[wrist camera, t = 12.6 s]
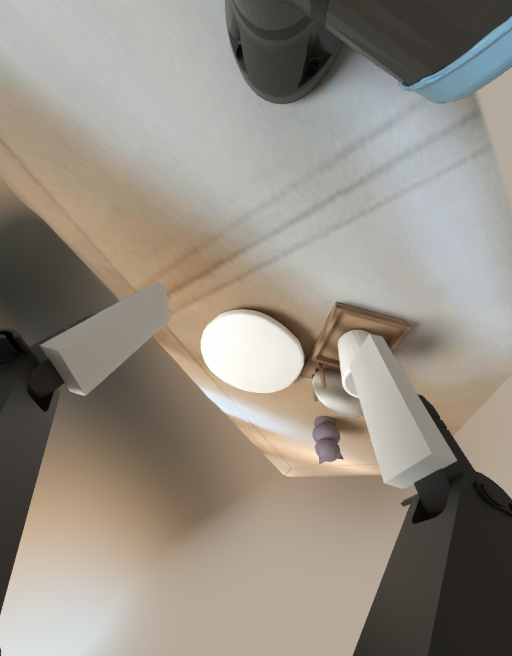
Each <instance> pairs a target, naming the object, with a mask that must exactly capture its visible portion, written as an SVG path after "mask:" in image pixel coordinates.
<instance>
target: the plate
mask: <svg viewBox="0 0 512 656" xmlns="http://www.w3.org/2000/svg"><path fill="white" fill-rule="evenodd" d="M201 351H202V355H203V358H204V360H205V363H206V364H207V366H208V368H209V369H210V370H211V371H212V372H213V373H214V374H215V375H216V376H217V377H219V378H220V379H221V380H223V381H224V382H226V383H228V384H230V385H232V386H234V387H236V388H238V389H242V390H245V391H250V392H255V393H273V392H276V391H279V390H282V389H285V388H286V387H288V386H290V385H291V384H292V383H293V382H294V381H295V380H296V379H297V377H298V376H299V374H300V373H301V371H302V368H303V366H304V352H303V350H302V347H301V344H300V342H299V340H298V339H297V338H296V337H295V336H294V335H293V334H292V333H291V332H290V331H289V330H288V329H287V328H286V327H285V326H283V325H282V324H281V323H279V322H278V321H276V320H275V319H273V318H271V317H270V316H268V315H266V314H263V313H261V312H258V311H253V310H246V309H238V310H231V311H228V312H224V313H221V314H220V315H218V316H217V317H216V318H215V319H214V320H213V321H211V322H210V323H209V324H208V325H207V327H206V328H205V330H204V332H203V336H202V340H201Z"/></svg>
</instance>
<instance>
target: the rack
mask: <svg viewBox="0 0 512 656" xmlns="http://www.w3.org/2000/svg"><path fill="white" fill-rule="evenodd" d="M356 329H362V330H364V331H367V332H369V333H370V334H373V335H377V336H382V337H383V339H384V340H385V342H386V344H387V345H388V347H389V349H390V350H391V352H393V350H394V349H395V348H396V347H397V346H398V344H399V343H400V342H401V341H402V339H403V338H404V337H405V336H406V335H407V333H408V332H409V331H410V330H411V329H412V328H411V327H410V326H409V325H408V324H407V323H406V322H405V321H403V320H400V319H396V318H392V317H388V316H385V315H381V314H377V313H374V312H370V311H366V310H363V309H359V308H355V307H352V306H348V305H344V304H341V303H337V302H335V304H334V306H333V308H332V310H331V312H330V314H329V316H328V318H327V321H326V323H325V325H324V327H323V329H322V331H321V333H320V335H319V337H318V339H317V341H316V343H315V345H314V347H313V349H312V351H311V353H310V355H309V357H308V359H307V361H306V363H305V365H304V367H303V369H302V371H301V376H305V377H308V378H311V379H312V386H313V398H314V401H318V398H319V400H320V401H321V402H322V403H323V404H324V405H325V406H326V407H327V408H329V409H330V410H331V411H333V412H335V413H337V414H339V415H341V416H344V417H348V418H357V417H360V416H362V415H363V414H364V413H363V410H362V407H361V403H360V400H359V398H356V397H354V396H352V395H349V394H348V393H347V392H346V391H345V389H344V388H343V384H342V377H341V369H340V360H339V352H338V340H339V339H340V337H341V335H342V334H343V333H345V332H349V331H351V330H356Z"/></svg>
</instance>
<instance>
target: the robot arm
mask: <svg viewBox="0 0 512 656" xmlns="http://www.w3.org/2000/svg"><path fill="white" fill-rule="evenodd" d="M225 12H226V22H227V29H228V35H229V39H230V44H231V47H232V51H233V54H234V57H235V59H236V62H237V64H238V66H239V69H240V71H241V73H242V75H243V77H244V79H245V81H246V82H247V84H248V85H249V86H250V88H251V89H252V90H253V91H254V92H255V93H256V94H257V95H258V96H260V97H261V98H263V99H265V100H267V101H269V102H272V103H279V104H283V103H290V102H293V101H296V100H298V99H300V98H302V97H303V96H305V95H306V94H308V93H309V92H310V91H311V90H313V89H314V88H315V87H316V86H317V85H318V84H319V82H320V81H321V80H322V79H323V78H324V76H325V75H326V74H327V72H328V71H329V69H330V68H331V66H332V64H333V62H334V61H335V59H336V57H337V55H338V53H339V50H340V48H341V46H342V43H343V42H344V43H346V44H347V45H348V46H350V47H351V48H353V49H354V50H356V51H357V52H358V53H360V54H361V55H363V56H364V57H366V58H367V59H369V60H370V61H371V62H373V63H374V64H376V65H377V66H379V67H380V68H381V69H383V70H384V71H386V72H387V73H389V74H390V75H391V76H393V77H394V78H396V79H397V80H399V83H398V84H399V86H400V87H401V88H402V89H403V90H409V91H415V92H417V93H418V94H420V95H422V96H423V97H425V98H427V99H429V100H430V101H432V102H434V103H439V104H443V103H447V102H451V101H457V100H460V99H462V98H464V97H466V96H468V95H470V94H472V93H474V92H476V91H477V90H479V89H481V88H482V87H484V86H485V85H487V84H488V83H490V82H491V81H493V80H494V79H496V78H497V77H498V76H500V75H501V74H502V73H504V72H505V71H507V70H508V69H509V68H511V67H512V0H225ZM169 320H170V319H169V311H168V303H167V295H166V287H165V285H162V284H158V283H153V284H151V285H149V286H147V287H145V288H143V289H142V290H140V291H138V292H136V293H134V294H132V295H131V296H129V297H127V298H125V299H123V300H121V301H120V302H118V303H116V304H114V305H112V306H111V307H109V308H107V309H105V310H103V311H101V312H100V313H97V314H94V315H91V316H87V317H85V318H83V319H81V320H79V321H77V322H75V324H72V325H70V326H68V327H66V329H62V330H60V331H59V332H57V333H55V334H53V335H51V336H49V337H47V338H45V339H43V340H41V341H40V342H38V343H36V344H34V345H32V346H30V347H28V345H27V344H26V343H25V341H24V340H23V339H22V337H21V335H20V334H19V333H18V332H17V331H16V330H13V329H0V613H1V610H2V606H3V602H4V599H5V595H6V591H7V588H8V583H9V580H10V576H11V573H12V569H13V565H14V562H15V558H16V554H17V551H18V547H19V543H20V540H21V536H22V532H23V529H24V525H25V521H26V517H27V514H28V510H29V506H30V503H31V499H32V495H33V492H34V488H35V484H36V481H37V477H38V473H39V470H40V466H41V462H42V458H43V455H44V451H45V447H46V444H47V440H48V436H49V433H50V428H51V425H52V422H53V418H54V414H55V410H56V407H57V403H58V399H59V396H60V390H59V389H58V387H60V386H61V385H62V384H64V383H65V384H66V386H67V387H68V389H69V390H70V391H71V392H74V393H77V394H81V395H84V396H86V395H87V394H88V393H89V392H90V391H91V390H93V389H94V388H95V387H96V386H97V385H98V384H99V383H100V382H102V381H103V380H104V379H105V378H106V377H107V376H108V375H109V374H110V373H112V372H113V371H114V370H115V369H116V368H117V367H118V366H119V365H120V364H122V363H123V362H124V361H125V360H126V359H127V358H128V357H129V356H131V355H132V354H133V353H134V352H135V351H136V350H137V349H138V348H139V347H140V346H142V345H143V344H144V343H145V342H146V341H147V340H148V339H149V338H150V337H152V336H153V335H154V334H155V333H156V332H157V331H158V330H159V329H161V328H162V327H163V326H164V325H165V324H166V323H167V322H168V321H169ZM349 366H350V370H351V373H352V376H353V380H354V383H355V386H356V390H357V393H358V397H359V400H360V403H361V407H362V410H363V413H364V417H365V420H366V424H367V427H368V430H369V434H370V437H371V440H372V444H373V447H374V451H375V454H376V457H377V461H378V464H379V467H380V471H381V474H382V478H383V481H384V483H385V484H389V485H392V486H396V487H399V488H402V489H405V488H407V487H409V486H411V485H412V484H414V485H415V487H416V490H417V492H418V494H416V495H414V496H412V497H410V498H408V499H405V500H404V501H403V502H402V503H401V504H402V506H406V505H409V504H410V506H409V509H408V512H407V514H406V517H405V520H404V522H403V525H402V528H401V530H400V533H399V535H398V538H397V541H396V543H395V546H394V549H393V551H392V554H391V557H390V559H389V562H388V564H387V567H386V570H385V572H384V575H383V577H382V580H381V583H380V585H379V588H378V590H377V593H376V596H375V598H374V601H373V604H372V606H371V609H370V612H369V614H368V617H367V619H366V622H365V625H364V627H363V630H362V633H361V635H360V638H359V640H358V643H357V646H356V649H355V651H354V654H353V656H512V499H511V498H510V497H509V496H508V495H507V494H506V492H505V491H504V490H503V489H502V488H501V487H499V486H498V485H497V484H496V483H495V482H494V481H492V480H491V479H490V478H488V477H486V476H485V475H483V474H482V473H479V472H476V471H475V470H474V469H473V467H472V466H471V464H470V463H469V461H468V460H467V458H466V456H465V455H464V453H463V452H462V450H461V449H460V447H459V446H458V444H457V442H456V441H455V439H454V438H453V436H452V435H451V433H450V432H449V430H447V427H446V425H445V424H444V422H443V421H442V420H440V416H439V415H438V413H437V412H436V410H435V408H434V407H433V406H432V405H431V404H430V403H429V402H428V401H427V400H426V399H425V398H424V397H423V396H422V395H418V394H417V393H416V391H415V390H414V388H413V386H412V385H411V383H410V382H409V380H408V378H407V377H406V375H405V373H404V372H403V370H402V368H401V367H400V365H399V363H398V362H397V360H396V358H395V357H394V355H393V353H392V352H391V350H390V349H389V347H388V345H387V344H386V342H385V340H384V339H383V337H382V336H377V335H373V334H369V335H368V337H367V338H366V340H365V341H364V343H363V344H362V346H361V348H360V349H359V351H358V352H357V354H356V356H355V357H354V359H353V360H352V362H351V363H350V365H349ZM0 656H1V649H0Z"/></svg>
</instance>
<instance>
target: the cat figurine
mask: <svg viewBox="0 0 512 656" xmlns="http://www.w3.org/2000/svg"><path fill="white" fill-rule="evenodd" d="M313 438H314V440H315V441H316V446H315V449H316V453H317V455H318V456H319V464H321V463H323V462H325V461H328V462H331V461H335V460H336V459H343V457H342V455H341V453H340V448H339V445H338V444H337V443H338V442H339V440H340V433H339V431H338V430H337V428H336V427H335V424H334V420H333V419H332V418H330V417H328V416H319V417H317V418H316V419H315V428H314V430H313Z"/></svg>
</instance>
